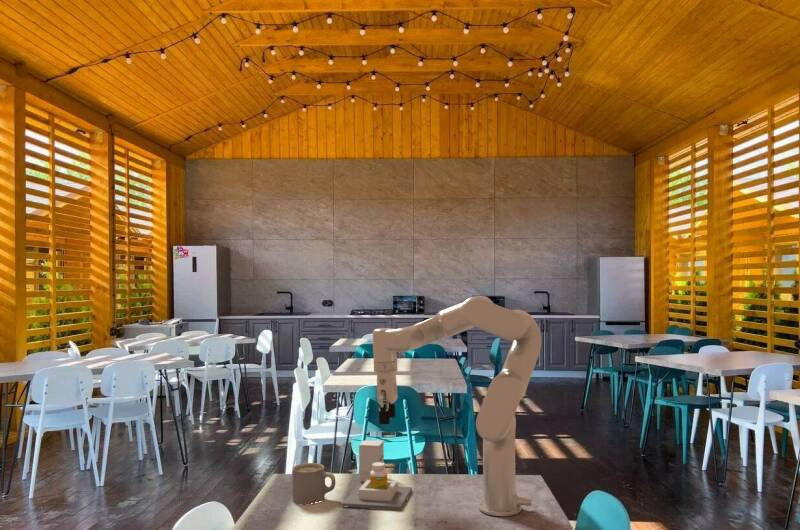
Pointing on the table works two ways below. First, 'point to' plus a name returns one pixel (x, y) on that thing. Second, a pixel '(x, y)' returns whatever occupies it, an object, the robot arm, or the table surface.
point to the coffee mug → (310, 483)
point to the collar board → (378, 497)
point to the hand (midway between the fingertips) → (387, 420)
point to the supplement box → (369, 457)
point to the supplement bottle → (378, 476)
